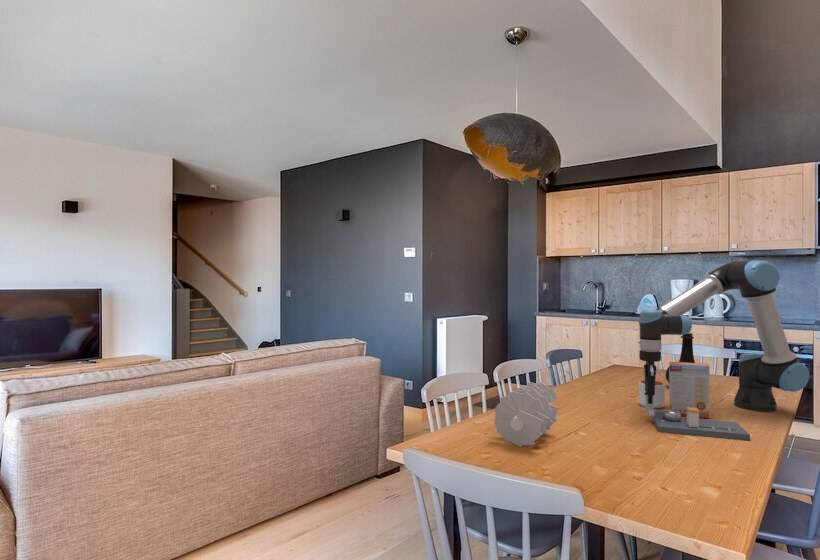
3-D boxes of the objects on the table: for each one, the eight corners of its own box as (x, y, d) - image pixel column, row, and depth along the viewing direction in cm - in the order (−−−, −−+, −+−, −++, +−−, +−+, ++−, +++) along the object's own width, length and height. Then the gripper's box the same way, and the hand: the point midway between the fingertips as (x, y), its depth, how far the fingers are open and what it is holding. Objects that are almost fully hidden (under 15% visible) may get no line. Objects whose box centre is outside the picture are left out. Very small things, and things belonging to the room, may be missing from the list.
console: (735, 427, 184) (735, 421, 184) (750, 440, 169) (750, 434, 169) (652, 420, 193) (652, 414, 193) (658, 431, 178) (658, 426, 178)
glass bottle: (660, 384, 258) (660, 330, 258) (697, 386, 256) (697, 331, 256) (673, 392, 240) (674, 334, 240) (713, 394, 238) (714, 335, 238)
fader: (696, 424, 180) (696, 407, 180) (699, 427, 176) (699, 410, 176) (686, 423, 181) (686, 407, 181) (688, 426, 177) (689, 409, 177)
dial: (679, 417, 188) (679, 409, 188) (682, 422, 183) (682, 414, 183) (647, 415, 192) (647, 407, 192) (649, 419, 186) (649, 411, 186)
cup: (662, 410, 208) (662, 386, 208) (636, 406, 214) (636, 383, 214) (666, 405, 216) (667, 382, 216) (641, 401, 222) (642, 379, 222)
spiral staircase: (503, 458, 162) (525, 434, 183) (552, 443, 153) (570, 419, 175) (479, 405, 165) (504, 387, 186) (527, 387, 156) (547, 371, 178)
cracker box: (707, 415, 200) (708, 363, 200) (709, 419, 195) (710, 365, 195) (668, 411, 206) (669, 360, 206) (669, 414, 201) (669, 362, 201)
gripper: (637, 347, 199) (637, 406, 200) (641, 352, 187) (640, 414, 187) (658, 348, 197) (657, 408, 197) (663, 353, 185) (663, 416, 185)
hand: (649, 411), depth 192 cm, fingers closed
